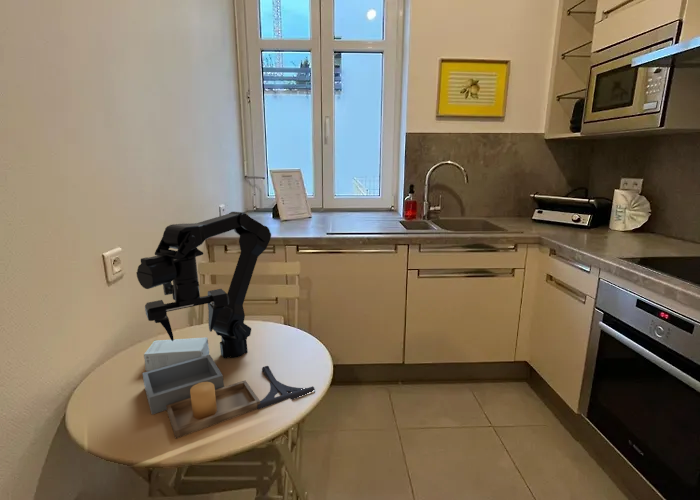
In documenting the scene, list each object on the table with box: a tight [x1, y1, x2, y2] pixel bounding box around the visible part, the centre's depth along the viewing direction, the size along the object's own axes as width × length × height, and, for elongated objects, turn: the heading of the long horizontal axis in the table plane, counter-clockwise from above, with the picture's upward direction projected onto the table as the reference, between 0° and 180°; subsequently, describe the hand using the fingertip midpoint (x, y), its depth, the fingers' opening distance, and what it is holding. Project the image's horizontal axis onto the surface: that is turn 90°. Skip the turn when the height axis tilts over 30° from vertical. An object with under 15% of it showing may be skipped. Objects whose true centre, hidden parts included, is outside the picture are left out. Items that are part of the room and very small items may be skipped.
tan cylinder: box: [190, 382, 217, 420], centre depth 89 cm, size 5×5×6 cm
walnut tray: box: [166, 380, 261, 439], centre depth 90 cm, size 18×10×2 cm, turn 123°
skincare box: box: [143, 336, 210, 372], centre depth 110 cm, size 8×6×15 cm
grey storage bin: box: [142, 354, 225, 415], centre depth 98 cm, size 16×12×5 cm
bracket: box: [257, 365, 316, 410], centre depth 100 cm, size 14×15×3 cm
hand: (191, 335), depth 101 cm, fingers open, 9 cm apart
